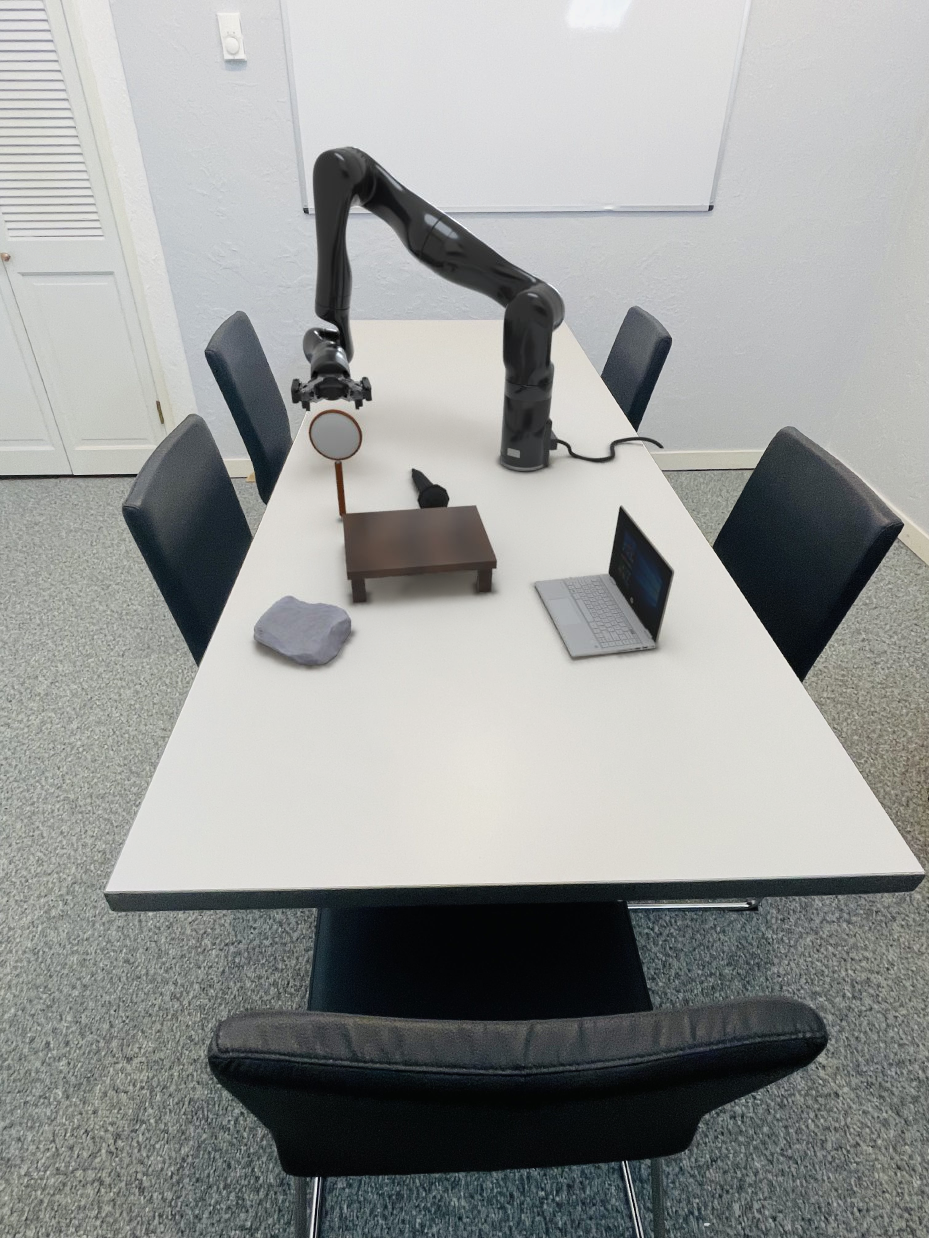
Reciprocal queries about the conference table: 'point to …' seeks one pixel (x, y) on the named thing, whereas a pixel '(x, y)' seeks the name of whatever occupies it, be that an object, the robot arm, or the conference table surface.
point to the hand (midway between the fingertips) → (332, 405)
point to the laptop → (613, 597)
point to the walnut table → (416, 545)
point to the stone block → (303, 630)
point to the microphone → (429, 492)
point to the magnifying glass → (336, 443)
